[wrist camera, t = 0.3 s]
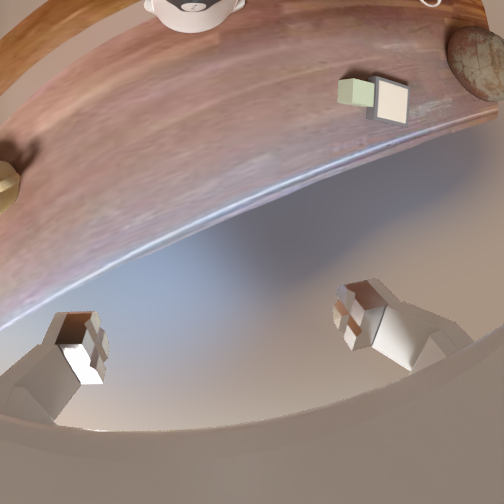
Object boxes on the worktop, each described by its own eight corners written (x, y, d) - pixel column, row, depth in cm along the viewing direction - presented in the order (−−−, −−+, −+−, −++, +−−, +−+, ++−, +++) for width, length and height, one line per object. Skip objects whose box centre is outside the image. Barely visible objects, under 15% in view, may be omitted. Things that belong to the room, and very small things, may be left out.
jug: (473, 43, 45) (549, 49, 19) (476, 104, 55) (555, 124, 29) (429, 17, 41) (518, 10, 15) (434, 87, 51) (530, 101, 25)
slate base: (368, 76, 48) (376, 76, 46) (401, 86, 51) (410, 87, 48) (366, 118, 53) (374, 119, 50) (399, 126, 55) (407, 127, 52)
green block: (338, 80, 48) (353, 78, 43) (358, 84, 49) (374, 83, 44) (337, 102, 50) (352, 102, 45) (357, 106, 51) (373, 107, 46)
